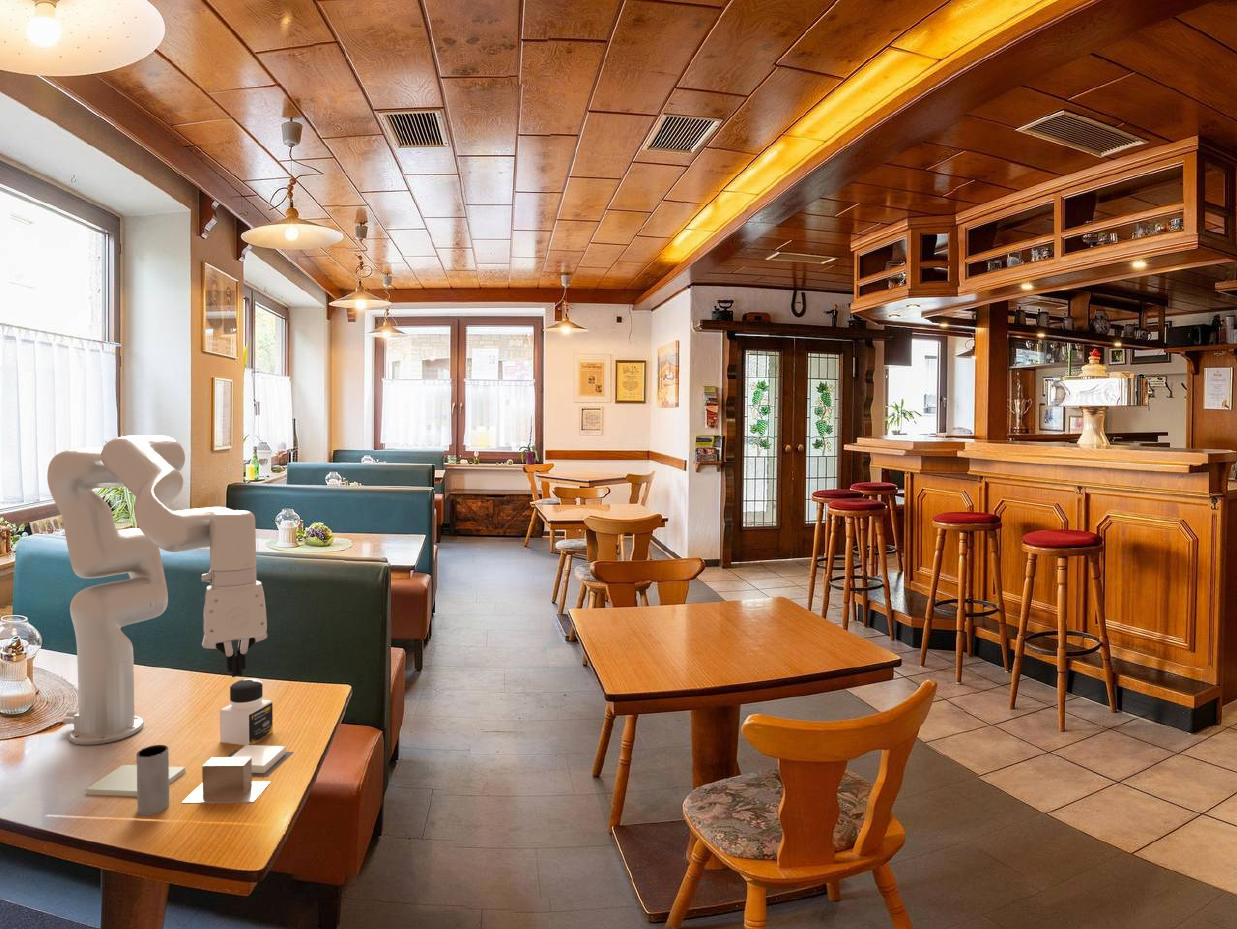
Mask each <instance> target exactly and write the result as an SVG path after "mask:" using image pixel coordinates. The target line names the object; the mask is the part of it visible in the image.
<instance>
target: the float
mask: <svg viewBox="0 0 1237 929" xmlns="http://www.w3.org/2000/svg"><path fill="white" fill-rule="evenodd" d="M201 768H202V771H201V772H202V776H201V777H202V782H201V784H200V785H199V786H197V787H196V788H195V789H194V790H193V791H192V792H191V793H190V794H188V796H187V797H186V798H185V799H184V800H182V802H181V804H232V803H233V804H235V803H237V804H240V803H243V804H244V803H245V804H246V803H247V804H248V803H249V804H250V803H251V804H252V803H255V801H256V800H257V799H258V798H259V797H260V796H261V794H262V793H263V792H264V791H265V790H266V789H267V787H268V786H269V785H270V784H271V783H272V782H271V781H264V780H262V781H253V776H252V757H227V756H224V757H222V756H217V757H216V756H215V757H213V756H211V758H209V759H208V760H207V761H206V762H204V763H203V765H202V767H201Z"/></svg>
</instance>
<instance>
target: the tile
mask: <svg viewBox="0 0 1237 929" xmlns="http://www.w3.org/2000/svg"><path fill="white" fill-rule="evenodd" d="M238 750H239V751H238V752H237V753H235V754H234V755H233V756H232V757H252V773H265V772H266V771H267V770H268V769H270V768H271V767H272V766H273V765H274V764H275V763H276V762H277V761H278V760H279V759H280V758H282V757H283V756H284V755H285V754H286V752H287V751H286V745H285V746H283V745H263V744H262V745H260V744H252V745H243V747H242V748H241V749H238Z"/></svg>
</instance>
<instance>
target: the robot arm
mask: <svg viewBox="0 0 1237 929" xmlns="http://www.w3.org/2000/svg"><path fill="white" fill-rule="evenodd" d="M185 462H186V455H185V450H184V448H183V447H182V445H181V443H179V442H178V441H177V440H176V439H175V438H173V437H170V436H167V435H125V436H119V437H118V436H117V437H115V438H113V439H110V440H109V441H108V442H106V443H105V444H104V445H103V447H80V448H78V447H77V448H72V449H68V450H64V451H61V452H59V453H57V454H55V455H54V456H53V457H52V459H51V460H50V462H49V464H48V467H47V476H46V478H47V480H46V481H47V485H48V490H49V493H50V495H51V497H52V499H53V501H54V502H55V505H56V506H57V509H58V511H59V513H60V515H61V520H62V524H63V530H64V535H65V541H66V545H67V550H68V555H69V561H70V565H71V568H72V571H73V573H74V574H75V575H76V576H77V577H79V578H80V579H81V578H82V579H96V578H97V579H98V578H106V577H112V576H117V575H118V576H119V575H124V574H128V576H129V578H127V579H124V580H123V579H121V580H117V581H110V582H109V581H108V582H106V583H105V582H104V583H99V584H95V585H91V586H89V587H85V588H83V589H82V590H80V591H78V592H77V593H76V594H75V595H74V596H73V597H72V599H71V602H70V606H69V612H70V617H71V621H72V625H73V629H74V633H75V642H76V654H77V656H76V657H77V658H76V659H77V661H76V662H77V688H78V690H77V692H78V693H77V694H78V695H77V696H78V698H77V700H78V710H74V709H73V710H68V711H67V712H66V715H65V716H64V718H63V720H62V724H65V725H66V724H67V725H72V724H73V729H72V730H71V731H70V733H69V741H70V742H72V743H73V744H76V745H83V746H92V745H101V744H102V745H103V744H108V743H112V742H117V741H119V740H122V739H125V738H129V737H131V736H133V735H135V734H136V733H138V732H139V731H141V730H142V728H143V727H144V719H143V718H141V717H140V716H137V715H135V680H134V678H135V676H134V673H135V672H134V671H135V670H134V647H133V643H132V641H131V640H130V639H129V638H128V637H127V635H125V634H124V632H123V631H122V630H121V628H122V627H125V626H128V625H132V624H136V623H140V622H145V621H148V620H151V619H155V618H157V617H159V616H161V615H163V613H164V612H165V611H166V609H167V607H168V603H169V594H168V586H167V581H166V576H165V570H164V566H163V561H162V556H161V551H160V549H161V550H163V551H166V552H170V553H179V552H185V551H192V550H198V549H207V548H209V562H210V564H209V567H210V568H209V571H208V572H206V573H203V574H201V575H200V576H201V583H202V582H206V583H208V582H209V584H210V585H208V586H206V590H205V595H204V604H203V616H202V617H203V618H202V630H203V639H202V643H201V646H202V647H203V648H204V649H211V650H212V649H213V650H215V649H216V650H218V651H220V652H221V653H223V655H225V667H226V673H229V674H230V675H231V678H236V677H237V676H238V677H242V676H243V670H246V666H247V665H246V654H247V653H248V650H249V649H250V648H251V647H252V646H253V645H254V644H255V643H258V642H261V641H264V640H266V639H267V638H268V633H267V629H268V622H267V620H268V619H267V608H266V600H265V599H266V598H265V592H264V587H263V584H262V582H261V581H259V580H257V543H256V542H257V541H256V539H257V538H256V535H257V534H256V533H257V532H256V516H255V514H254V513H253V512H251V511H249V510H244V509H243V510H242V509H241V510H239V509H235V510H234V509H231V508H228V507H225V506H224V507H223V506H212V507H200V508H189V509H180V510H172V509H169V508H168V507H167V506H166V505H167V504H169V503H171V502H172V501H173V500H174V499H175V498H177V497H178V495H179V494H180V493H181V491H182V490H183V487H184V486H183V485H184V479H183V476H182V474H181V473H180V471H181V470H182V469H183V467H184V465H185ZM118 487H119V488H120V487H121V488H123V487H125V489H127V490H128V491H130V492H131V493H132V494H133V495H134V496H135V497H136V498H135V502H134V507H133V509H134V510H133V511H134V512H133V513H134V516H135V522H136V525H137V527H135V528H134V527H133V528H124V529H117V527H116V525H115V520H114V515H113V511H112V509H111V508H112V507H111V506H110V505H109V504H108V502H106V501H105V500H104V499H103V498H102V496H100V495H99V494H98V493H96V492H95V491H94V489H107V488H118ZM233 641H238V644H237V648H236V650H234V649H233V645H232V642H233Z"/></svg>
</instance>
